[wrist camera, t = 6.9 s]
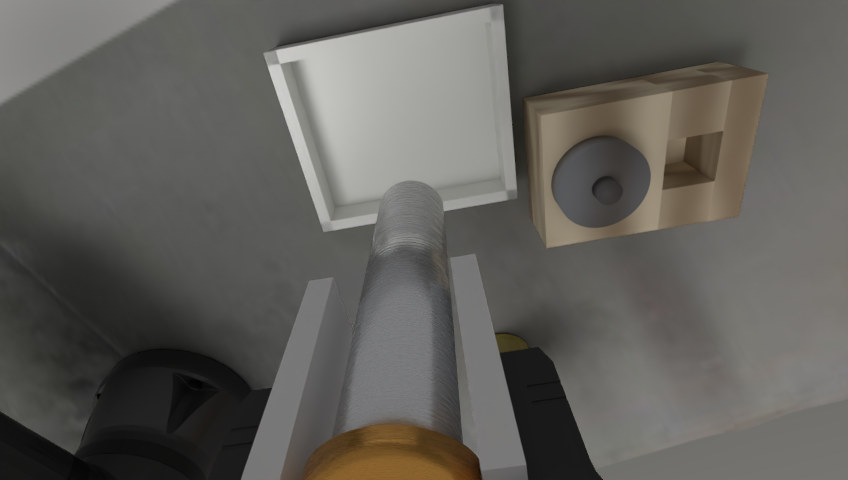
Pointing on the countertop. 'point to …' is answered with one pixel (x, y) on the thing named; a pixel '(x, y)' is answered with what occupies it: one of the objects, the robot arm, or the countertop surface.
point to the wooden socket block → (641, 152)
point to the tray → (401, 112)
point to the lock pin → (401, 357)
